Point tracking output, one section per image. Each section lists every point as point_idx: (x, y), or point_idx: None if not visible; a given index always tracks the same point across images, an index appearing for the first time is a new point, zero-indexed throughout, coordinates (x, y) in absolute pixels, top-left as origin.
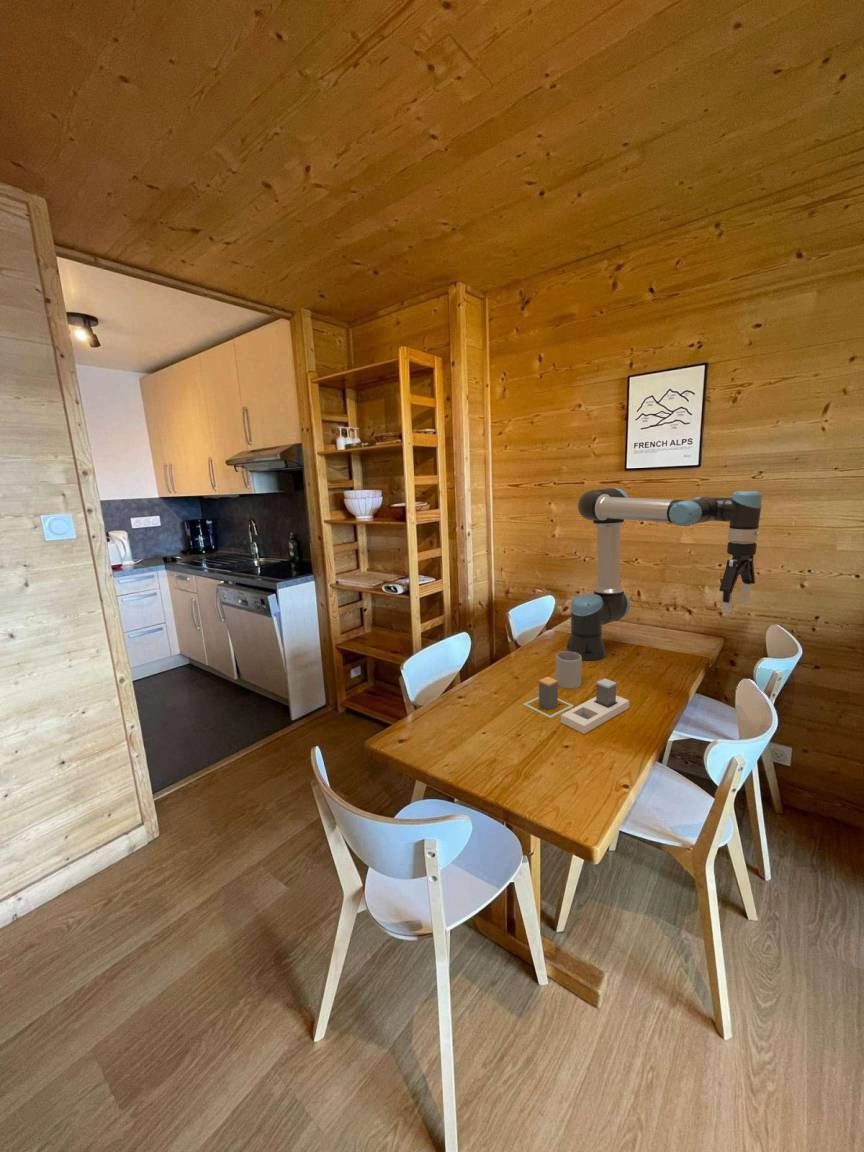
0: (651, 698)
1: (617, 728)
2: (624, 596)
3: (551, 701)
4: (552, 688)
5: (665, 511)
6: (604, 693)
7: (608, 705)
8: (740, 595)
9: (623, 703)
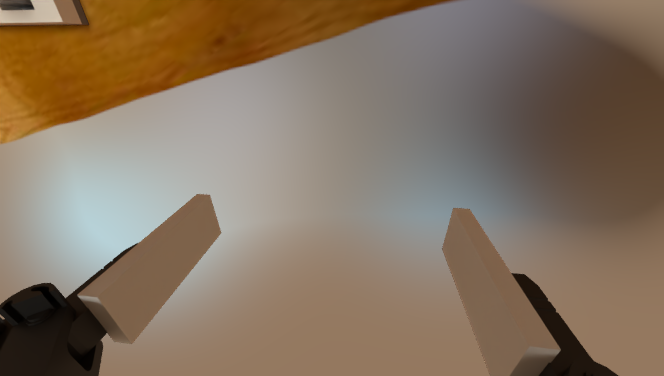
0: (167, 26)
1: (37, 51)
2: None
3: None
4: None
5: None
6: None
7: (2, 4)
8: (470, 244)
9: (43, 21)
